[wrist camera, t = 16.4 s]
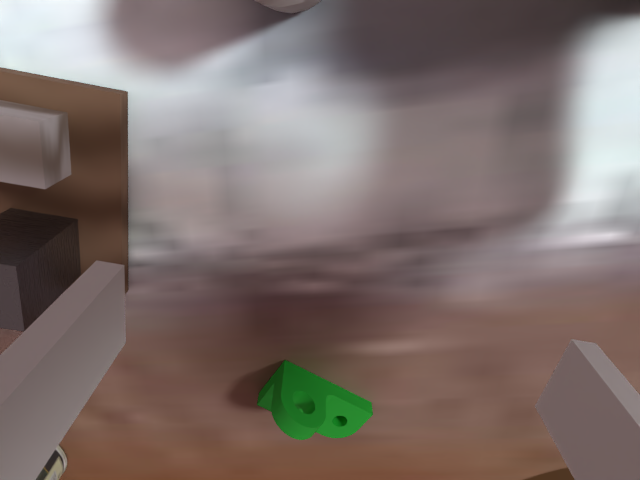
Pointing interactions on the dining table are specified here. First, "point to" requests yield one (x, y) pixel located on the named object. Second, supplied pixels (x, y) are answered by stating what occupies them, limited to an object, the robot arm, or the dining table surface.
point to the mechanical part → (312, 404)
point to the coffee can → (54, 466)
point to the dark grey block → (35, 264)
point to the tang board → (88, 164)
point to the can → (289, 5)
